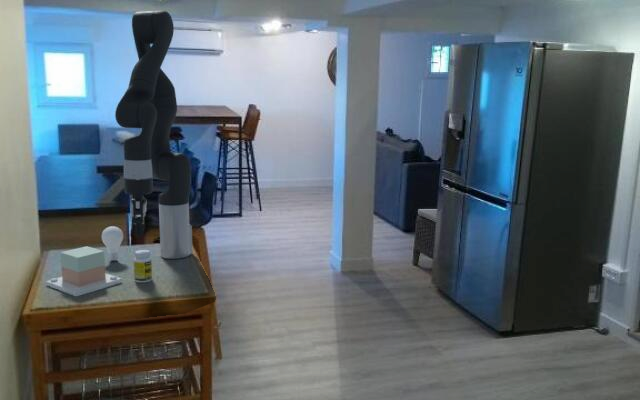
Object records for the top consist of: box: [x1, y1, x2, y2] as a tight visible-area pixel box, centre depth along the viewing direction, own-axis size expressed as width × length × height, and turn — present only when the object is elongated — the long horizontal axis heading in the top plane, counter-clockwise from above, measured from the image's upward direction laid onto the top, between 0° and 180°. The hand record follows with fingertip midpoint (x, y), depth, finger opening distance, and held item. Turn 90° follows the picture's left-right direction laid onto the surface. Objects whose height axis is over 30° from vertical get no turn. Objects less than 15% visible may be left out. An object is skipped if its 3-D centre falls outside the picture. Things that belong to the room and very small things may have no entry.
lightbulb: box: [101, 225, 124, 262], centre depth 186 cm, size 6×6×11 cm
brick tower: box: [45, 245, 123, 297], centre depth 165 cm, size 14×14×9 cm
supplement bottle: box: [133, 249, 153, 284], centre depth 169 cm, size 5×5×8 cm
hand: (140, 233), depth 167 cm, fingers open, 8 cm apart
